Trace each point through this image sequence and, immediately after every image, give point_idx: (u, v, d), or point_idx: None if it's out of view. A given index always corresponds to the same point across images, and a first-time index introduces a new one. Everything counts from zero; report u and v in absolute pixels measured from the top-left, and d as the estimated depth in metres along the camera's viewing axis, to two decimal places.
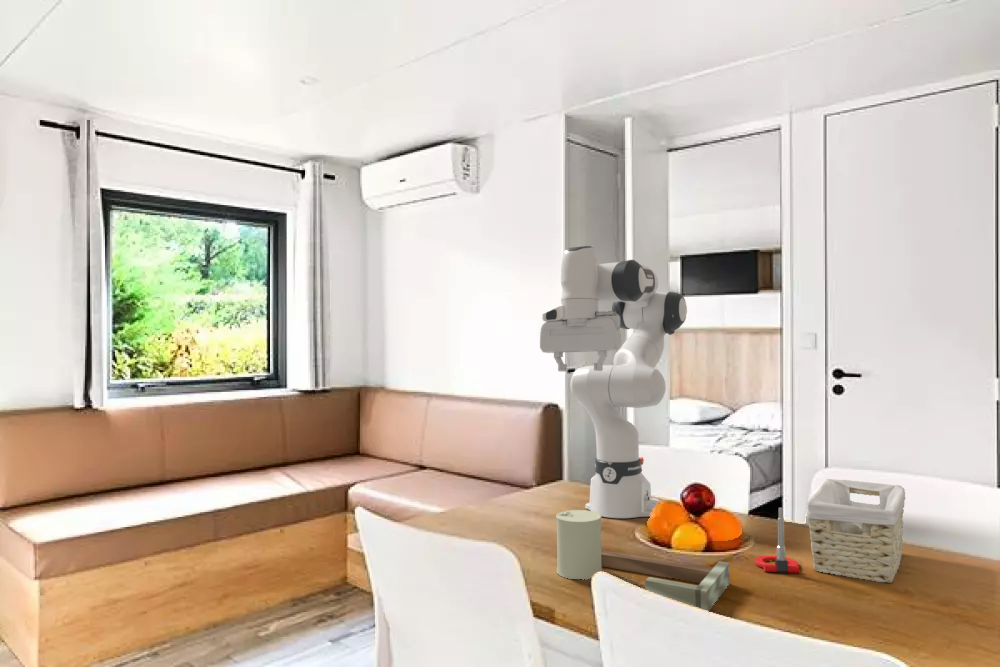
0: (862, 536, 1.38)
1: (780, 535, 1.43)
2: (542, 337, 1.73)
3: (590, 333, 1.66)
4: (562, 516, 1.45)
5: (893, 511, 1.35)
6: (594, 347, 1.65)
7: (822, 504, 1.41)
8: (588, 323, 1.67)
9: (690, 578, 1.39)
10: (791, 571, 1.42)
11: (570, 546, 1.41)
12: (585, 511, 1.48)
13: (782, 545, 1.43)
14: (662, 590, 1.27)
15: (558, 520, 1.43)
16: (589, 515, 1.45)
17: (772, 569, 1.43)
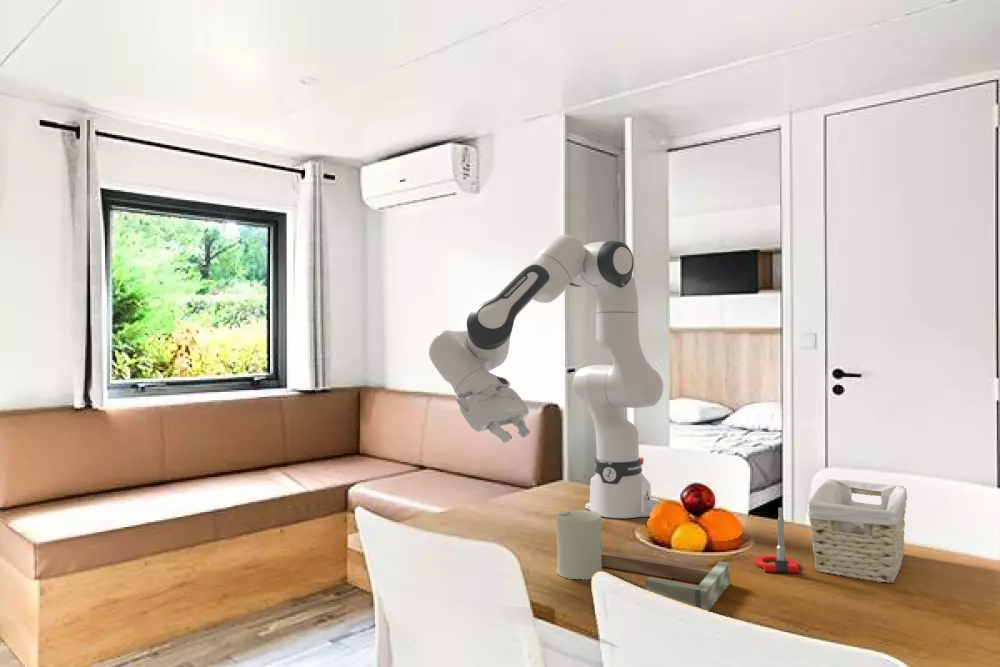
0: (864, 536, 1.38)
1: (780, 535, 1.43)
2: None
3: None
4: (562, 516, 1.45)
5: (894, 511, 1.35)
6: None
7: (824, 504, 1.41)
8: None
9: (690, 578, 1.39)
10: (791, 571, 1.42)
11: (570, 546, 1.41)
12: (585, 511, 1.48)
13: (782, 545, 1.43)
14: (662, 590, 1.27)
15: (558, 520, 1.43)
16: (589, 515, 1.45)
17: (772, 569, 1.43)
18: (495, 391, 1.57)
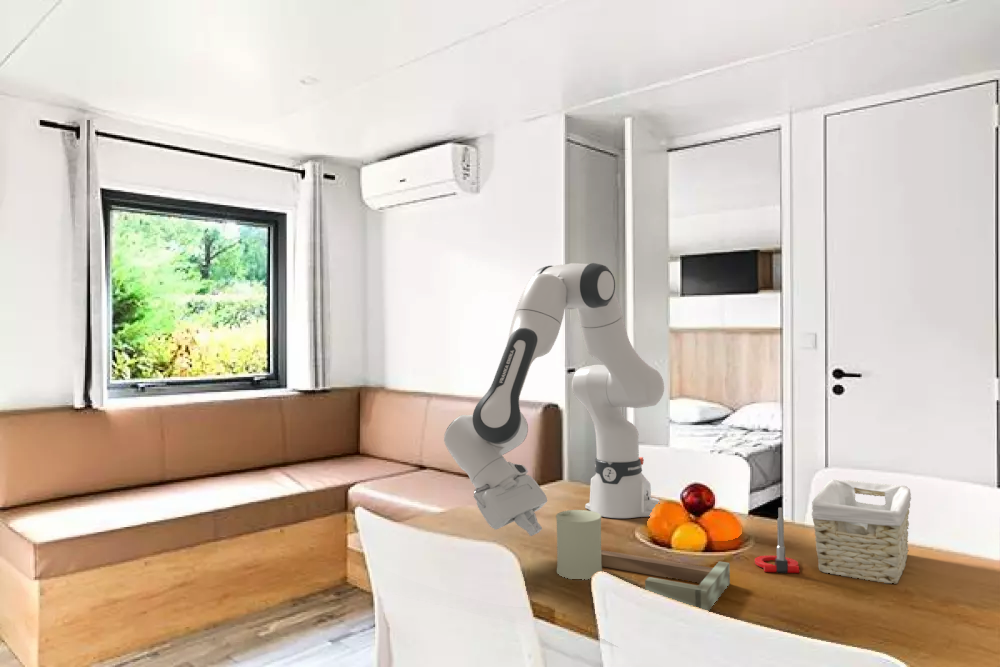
0: (867, 537, 1.37)
1: (780, 535, 1.43)
2: None
3: None
4: (562, 516, 1.45)
5: (898, 512, 1.35)
6: None
7: (827, 505, 1.40)
8: None
9: (690, 578, 1.39)
10: (791, 571, 1.42)
11: (570, 546, 1.41)
12: (585, 511, 1.48)
13: (782, 545, 1.43)
14: (662, 590, 1.27)
15: (558, 520, 1.43)
16: (589, 515, 1.45)
17: (772, 569, 1.43)
18: (513, 483, 1.52)
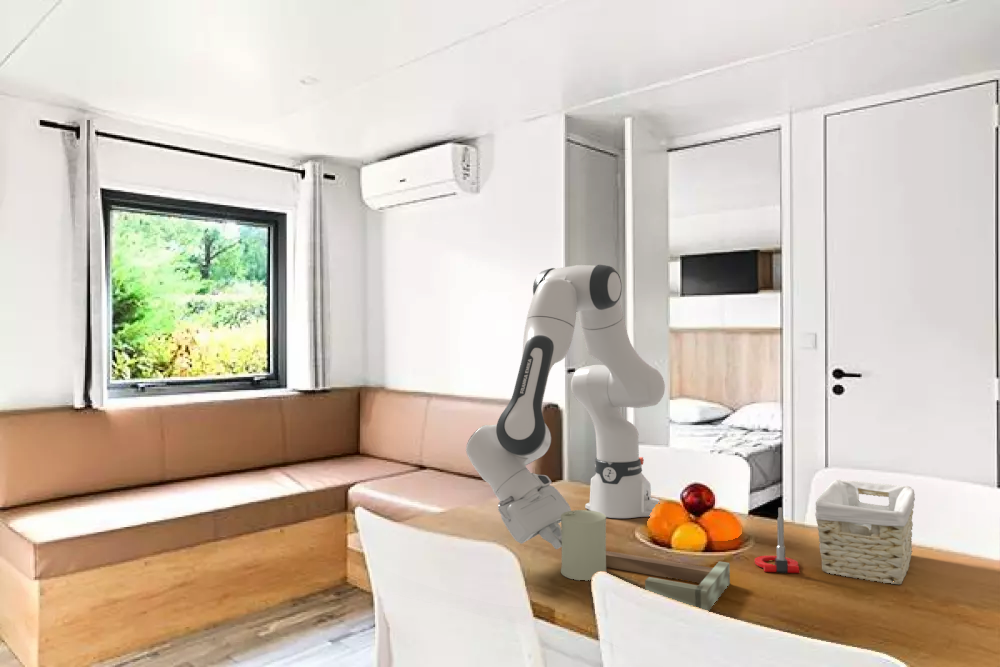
0: (871, 537, 1.37)
1: (780, 535, 1.43)
2: None
3: None
4: (567, 516, 1.44)
5: (902, 512, 1.34)
6: None
7: (831, 505, 1.40)
8: None
9: (690, 578, 1.39)
10: (791, 571, 1.42)
11: (574, 547, 1.41)
12: (590, 511, 1.48)
13: (782, 545, 1.43)
14: (662, 590, 1.27)
15: (563, 520, 1.43)
16: (594, 516, 1.44)
17: (772, 569, 1.43)
18: (537, 495, 1.49)
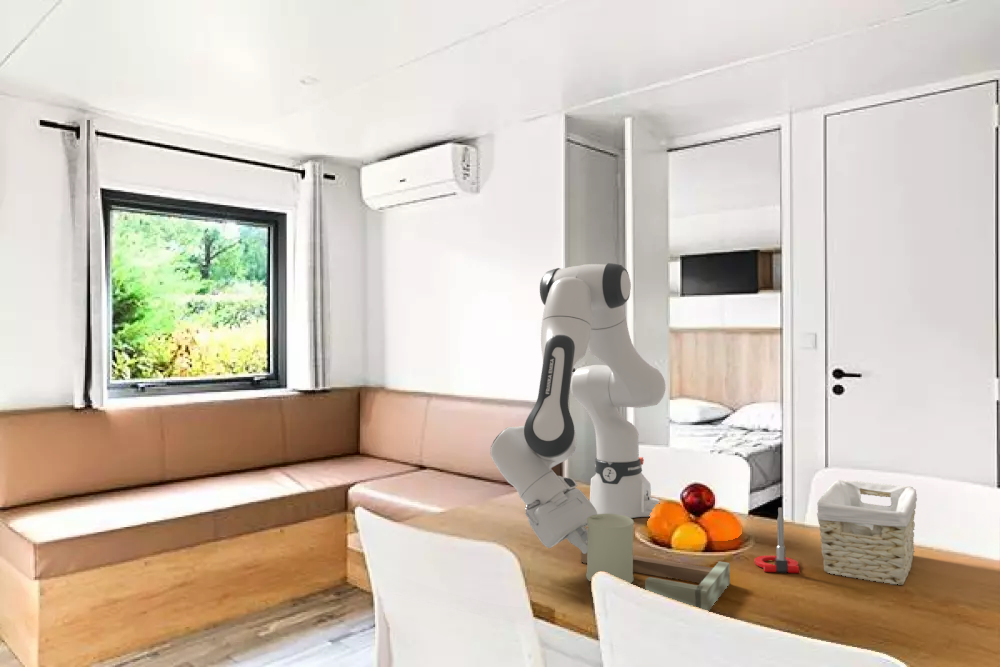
0: (873, 538, 1.37)
1: (780, 535, 1.43)
2: None
3: None
4: (593, 519, 1.41)
5: (904, 513, 1.34)
6: None
7: (832, 505, 1.40)
8: None
9: (690, 578, 1.39)
10: (791, 571, 1.42)
11: (598, 551, 1.37)
12: (619, 516, 1.44)
13: (782, 545, 1.43)
14: (662, 590, 1.27)
15: (588, 523, 1.40)
16: (621, 521, 1.40)
17: (772, 569, 1.43)
18: (564, 498, 1.46)
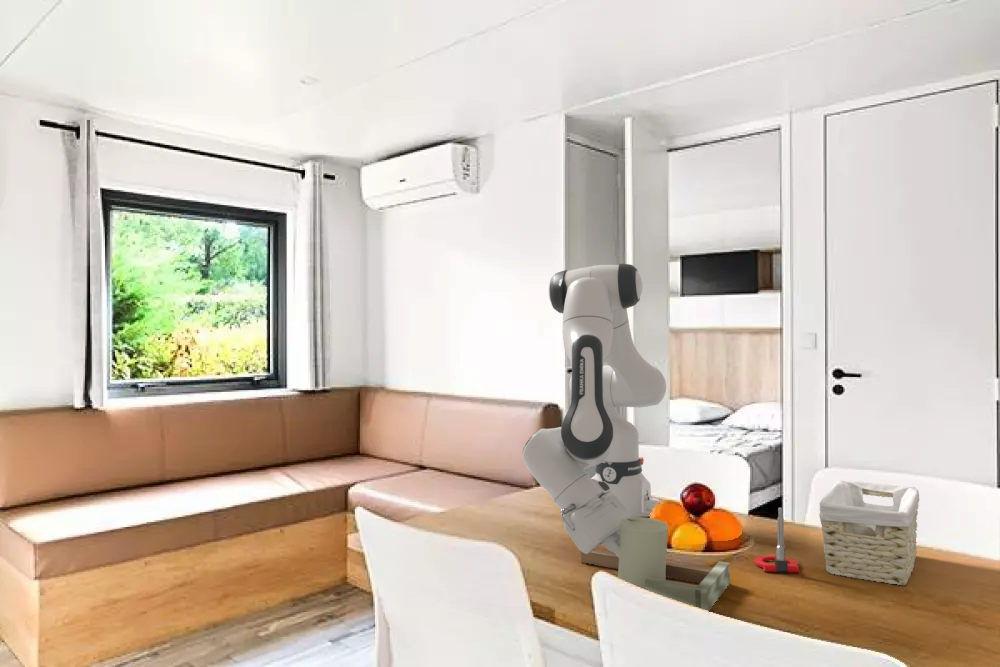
0: (875, 538, 1.36)
1: (780, 535, 1.43)
2: None
3: None
4: (628, 521, 1.39)
5: (907, 513, 1.34)
6: None
7: (835, 505, 1.40)
8: None
9: (690, 578, 1.39)
10: (791, 571, 1.42)
11: (624, 553, 1.35)
12: (659, 522, 1.39)
13: (782, 545, 1.43)
14: (662, 590, 1.27)
15: None
16: (655, 526, 1.36)
17: (772, 569, 1.43)
18: (600, 502, 1.42)
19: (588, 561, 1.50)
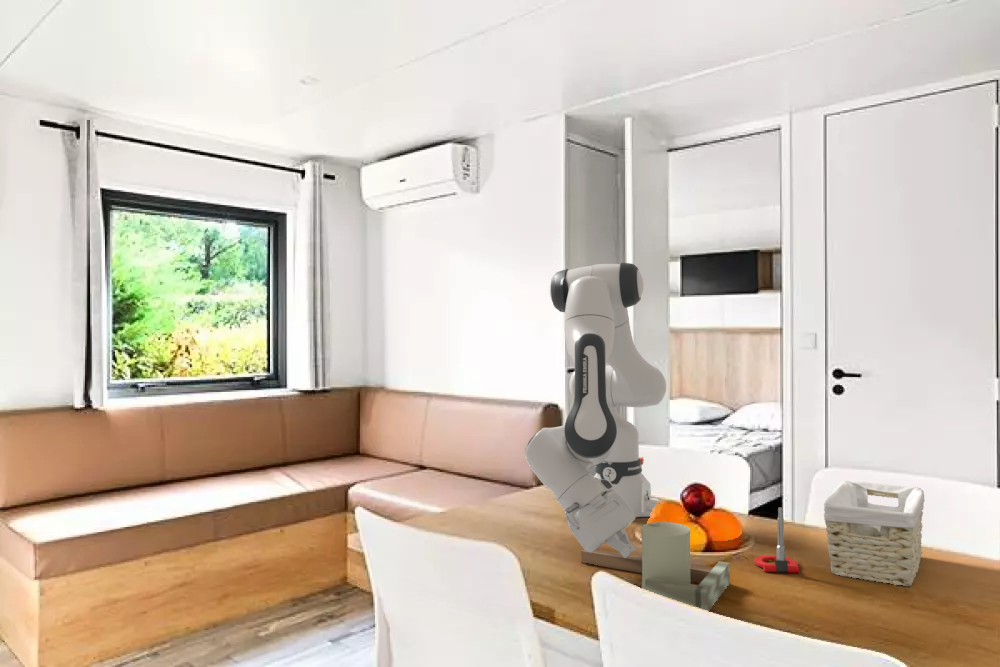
0: (880, 539, 1.36)
1: (780, 535, 1.43)
2: None
3: None
4: (649, 526, 1.37)
5: (912, 514, 1.33)
6: None
7: (839, 506, 1.39)
8: None
9: (690, 578, 1.39)
10: (791, 571, 1.42)
11: (647, 559, 1.33)
12: (681, 526, 1.37)
13: (782, 545, 1.43)
14: (662, 590, 1.27)
15: None
16: (677, 530, 1.34)
17: (772, 569, 1.43)
18: (603, 500, 1.42)
19: (588, 561, 1.50)
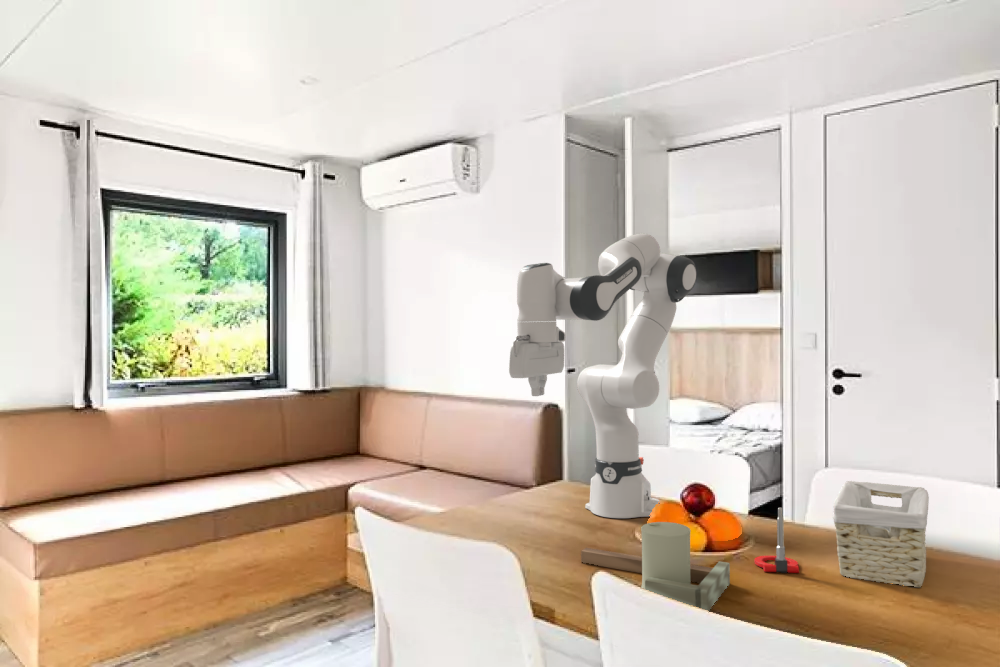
0: (891, 540, 1.35)
1: (780, 535, 1.43)
2: None
3: None
4: (649, 526, 1.37)
5: (923, 514, 1.33)
6: None
7: (849, 508, 1.38)
8: None
9: (690, 578, 1.39)
10: (791, 571, 1.42)
11: (647, 559, 1.33)
12: (681, 526, 1.37)
13: (782, 545, 1.43)
14: (662, 590, 1.27)
15: None
16: (677, 530, 1.34)
17: (772, 569, 1.43)
18: (549, 347, 1.60)
19: (588, 561, 1.50)
